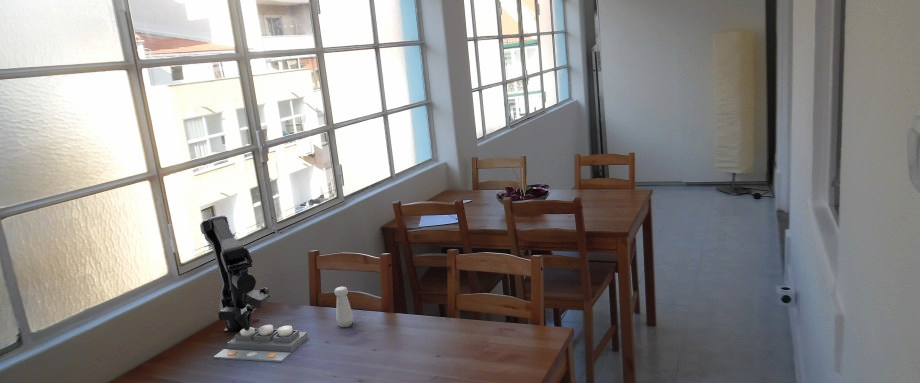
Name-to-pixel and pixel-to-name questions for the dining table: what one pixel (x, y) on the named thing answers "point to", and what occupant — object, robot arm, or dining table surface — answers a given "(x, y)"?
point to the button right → (285, 331)
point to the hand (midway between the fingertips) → (247, 330)
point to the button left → (247, 331)
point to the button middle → (266, 330)
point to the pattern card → (252, 355)
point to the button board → (268, 341)
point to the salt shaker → (343, 308)
